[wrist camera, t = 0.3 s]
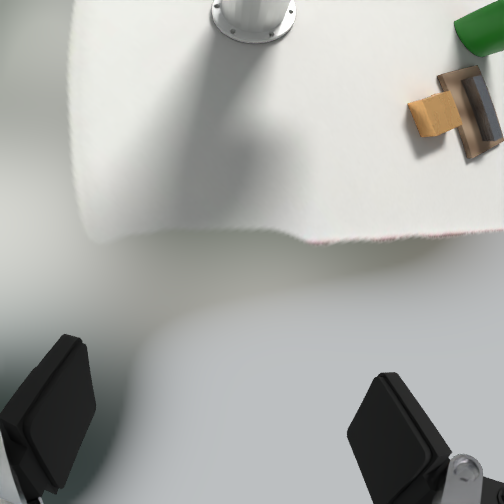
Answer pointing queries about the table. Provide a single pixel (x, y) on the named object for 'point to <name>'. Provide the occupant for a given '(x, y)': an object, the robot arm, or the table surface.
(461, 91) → the rail base
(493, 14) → the motor
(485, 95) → the rail
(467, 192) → the table surface
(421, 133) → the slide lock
